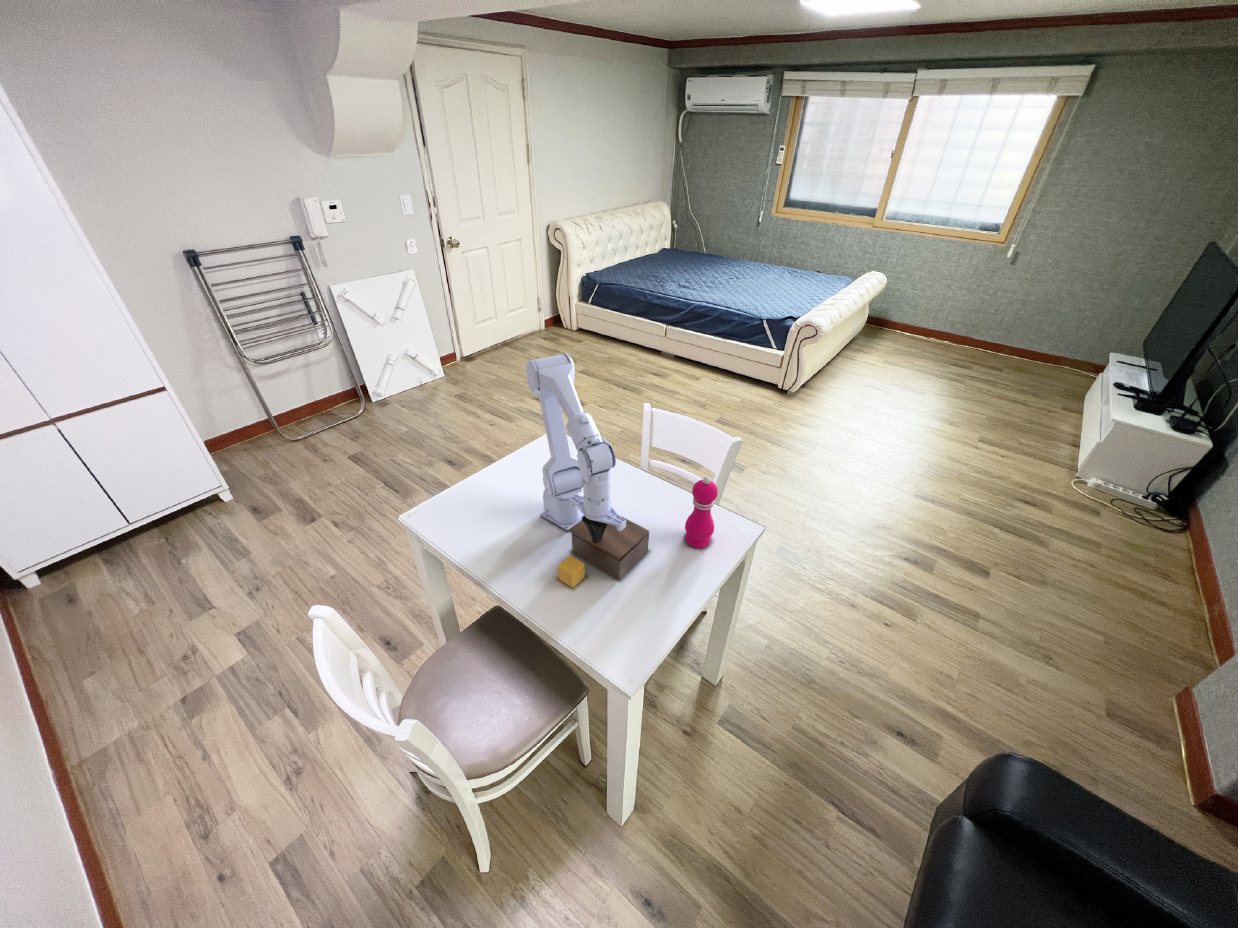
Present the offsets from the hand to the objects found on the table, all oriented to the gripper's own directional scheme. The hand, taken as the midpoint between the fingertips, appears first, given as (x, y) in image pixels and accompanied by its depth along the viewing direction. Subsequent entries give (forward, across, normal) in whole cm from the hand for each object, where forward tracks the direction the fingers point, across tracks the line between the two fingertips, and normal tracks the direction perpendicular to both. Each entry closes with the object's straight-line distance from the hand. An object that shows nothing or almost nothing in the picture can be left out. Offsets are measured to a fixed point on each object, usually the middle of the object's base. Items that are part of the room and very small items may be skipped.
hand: (597, 538), depth 113 cm
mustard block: (+8, +2, +7) cm, 11 cm away
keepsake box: (+8, 0, -5) cm, 10 cm away
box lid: (+1, 0, -4) cm, 5 cm away
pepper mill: (+8, -15, -22) cm, 28 cm away
